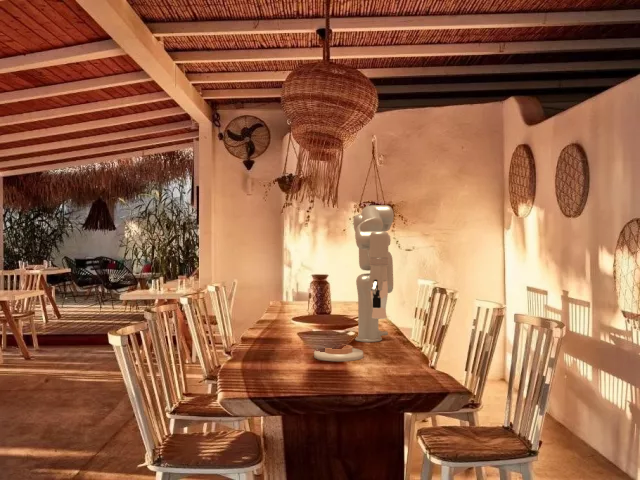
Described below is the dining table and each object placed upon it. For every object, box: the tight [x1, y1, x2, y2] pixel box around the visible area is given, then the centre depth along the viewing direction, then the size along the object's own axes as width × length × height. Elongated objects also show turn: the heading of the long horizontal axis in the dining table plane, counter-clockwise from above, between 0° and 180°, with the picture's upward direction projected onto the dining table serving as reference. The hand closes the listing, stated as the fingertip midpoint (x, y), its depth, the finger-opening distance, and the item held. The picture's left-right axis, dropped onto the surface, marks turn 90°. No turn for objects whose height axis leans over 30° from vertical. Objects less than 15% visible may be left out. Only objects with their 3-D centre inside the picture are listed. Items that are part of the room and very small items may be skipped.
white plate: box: [313, 344, 364, 362], centre depth 246 cm, size 20×20×4 cm
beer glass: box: [371, 281, 389, 320], centre depth 244 cm, size 7×7×15 cm
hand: (379, 306), depth 244 cm, fingers closed on beer glass, 6 cm apart
